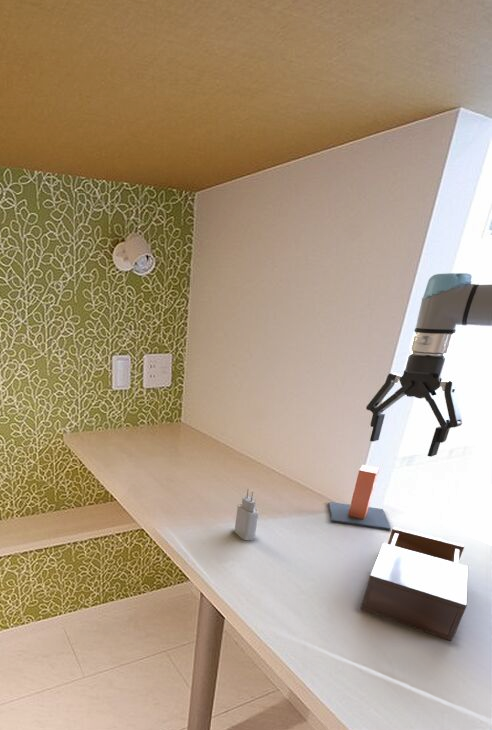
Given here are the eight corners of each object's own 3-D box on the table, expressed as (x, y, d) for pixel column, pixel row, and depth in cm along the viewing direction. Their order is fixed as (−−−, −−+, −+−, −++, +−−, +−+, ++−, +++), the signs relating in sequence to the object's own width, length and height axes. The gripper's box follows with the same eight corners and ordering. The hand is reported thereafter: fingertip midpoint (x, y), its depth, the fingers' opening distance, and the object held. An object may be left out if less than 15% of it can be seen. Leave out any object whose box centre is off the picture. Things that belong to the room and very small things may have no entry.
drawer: (389, 541, 103) (395, 520, 101) (456, 559, 96) (464, 537, 94) (376, 575, 90) (383, 552, 88) (452, 599, 83) (462, 574, 81)
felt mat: (382, 510, 121) (382, 509, 120) (390, 530, 110) (390, 528, 110) (328, 503, 125) (329, 501, 124) (331, 521, 114) (331, 519, 114)
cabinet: (374, 573, 93) (383, 542, 89) (455, 598, 85) (468, 566, 82) (360, 608, 82) (370, 575, 79) (451, 641, 74) (466, 605, 71)
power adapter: (244, 540, 104) (251, 495, 99) (233, 530, 109) (238, 486, 104) (255, 538, 105) (262, 493, 100) (244, 528, 110) (249, 485, 105)
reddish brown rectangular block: (351, 509, 120) (363, 464, 115) (367, 512, 118) (379, 467, 112) (347, 515, 116) (359, 470, 111) (364, 519, 114) (376, 473, 109)
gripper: (364, 349, 102) (344, 437, 111) (487, 361, 83) (451, 465, 92) (381, 348, 106) (361, 433, 115) (502, 359, 87) (467, 459, 96)
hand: (401, 447), depth 104 cm, fingers open, 13 cm apart
